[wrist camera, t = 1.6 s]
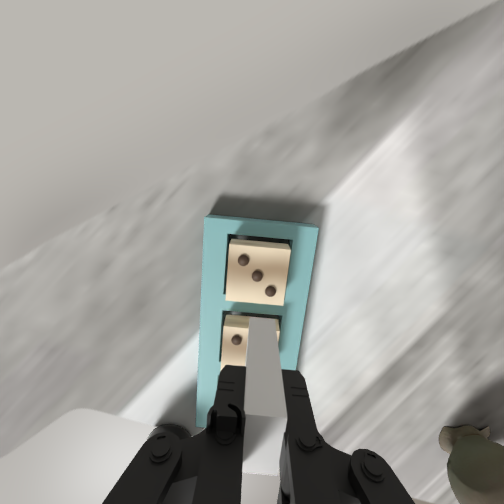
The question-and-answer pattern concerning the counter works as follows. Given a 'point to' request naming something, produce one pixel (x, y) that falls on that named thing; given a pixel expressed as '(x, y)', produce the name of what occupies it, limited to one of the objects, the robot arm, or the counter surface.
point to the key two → (237, 340)
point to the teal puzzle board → (215, 304)
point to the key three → (257, 272)
